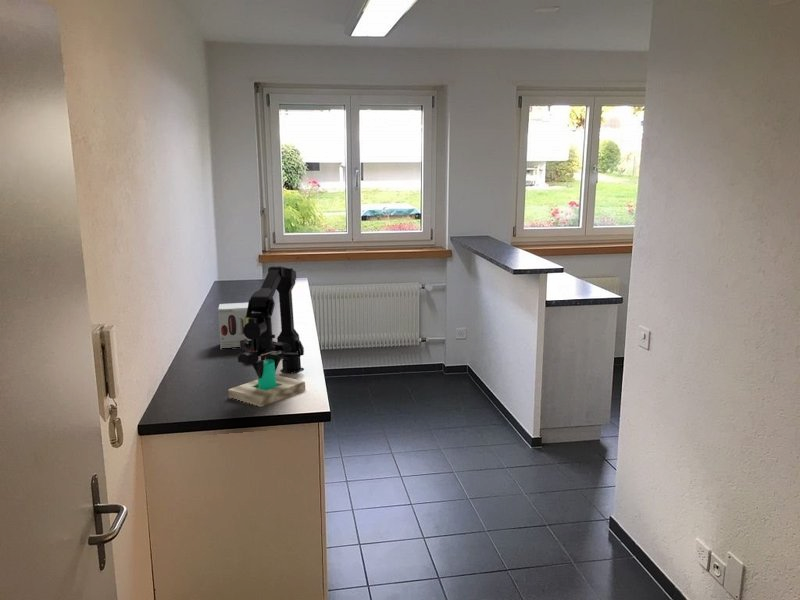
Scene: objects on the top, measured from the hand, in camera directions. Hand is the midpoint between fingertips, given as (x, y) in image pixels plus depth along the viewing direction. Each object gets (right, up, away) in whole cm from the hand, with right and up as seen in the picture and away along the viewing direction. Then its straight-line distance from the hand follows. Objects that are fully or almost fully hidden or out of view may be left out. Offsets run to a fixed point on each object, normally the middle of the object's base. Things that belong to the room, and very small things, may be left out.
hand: (266, 377), depth 220 cm
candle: (0, -5, +1) cm, 5 cm away
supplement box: (-26, +6, +69) cm, 74 cm away
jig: (0, -6, +1) cm, 6 cm away
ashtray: (-9, +2, +48) cm, 49 cm away
